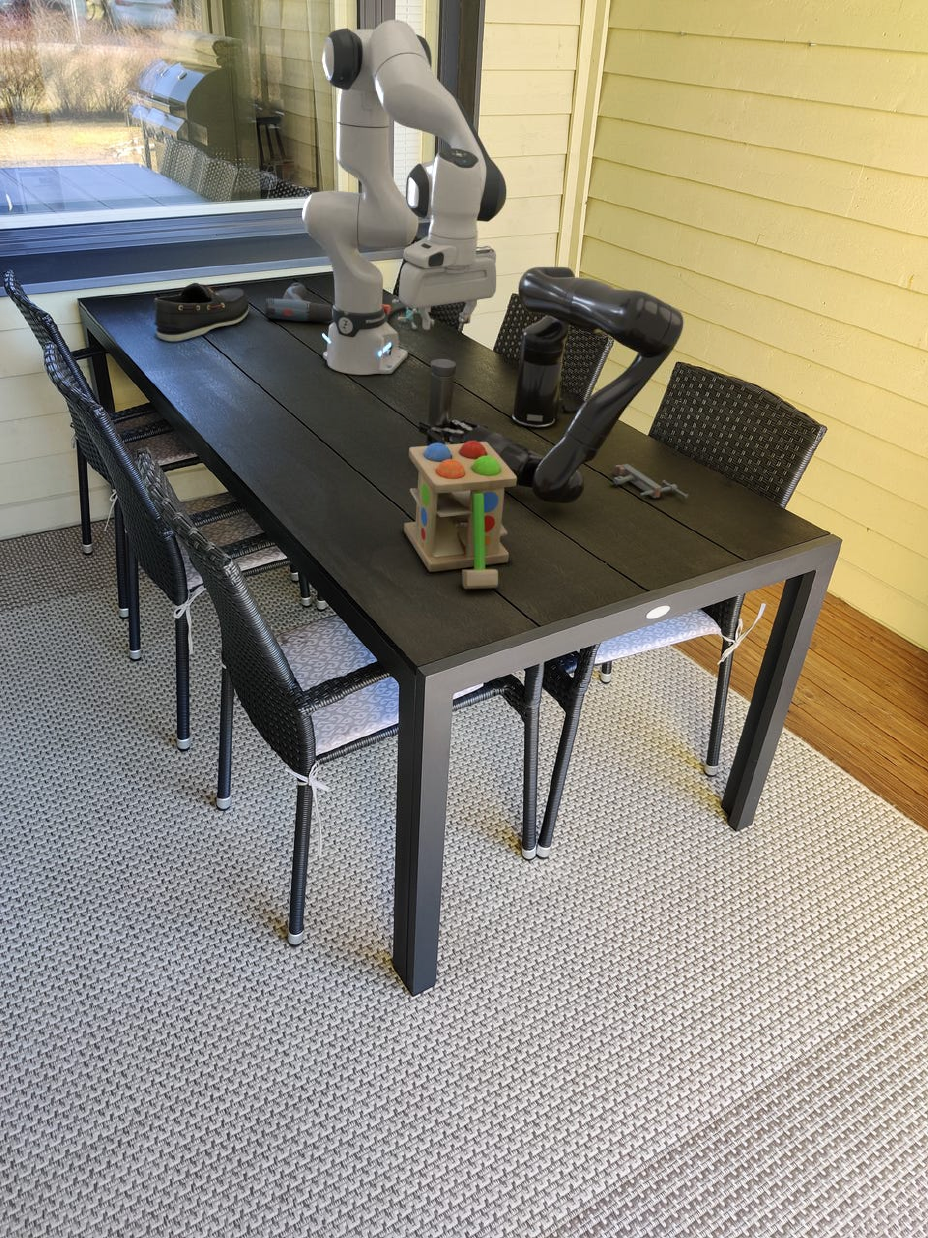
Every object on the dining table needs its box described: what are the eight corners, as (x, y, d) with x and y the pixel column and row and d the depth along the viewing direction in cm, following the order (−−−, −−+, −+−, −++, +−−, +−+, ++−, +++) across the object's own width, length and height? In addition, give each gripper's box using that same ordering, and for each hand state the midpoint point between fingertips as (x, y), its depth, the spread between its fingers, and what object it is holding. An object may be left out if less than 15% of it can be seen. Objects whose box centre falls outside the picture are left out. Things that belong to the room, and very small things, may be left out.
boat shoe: (267, 317, 262) (265, 277, 257) (175, 343, 238) (170, 300, 233) (232, 308, 268) (229, 269, 262) (138, 333, 244) (133, 291, 238)
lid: (458, 376, 188) (459, 367, 187) (434, 376, 187) (435, 367, 186) (451, 367, 192) (451, 358, 191) (427, 367, 191) (428, 359, 190)
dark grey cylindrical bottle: (450, 459, 198) (457, 369, 188) (429, 460, 197) (435, 369, 186) (443, 449, 202) (450, 361, 191) (423, 451, 200) (429, 361, 190)
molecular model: (429, 321, 258) (417, 284, 257) (398, 334, 262) (385, 297, 260) (444, 323, 268) (432, 287, 267) (414, 335, 272) (402, 300, 271)
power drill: (344, 304, 276) (335, 327, 259) (277, 298, 275) (264, 321, 258) (344, 285, 273) (335, 306, 256) (277, 279, 272) (264, 300, 255)
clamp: (603, 467, 195) (642, 459, 200) (601, 477, 197) (640, 469, 201) (650, 500, 185) (691, 491, 190) (648, 510, 186) (688, 501, 191)
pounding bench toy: (528, 589, 159) (542, 490, 149) (446, 600, 155) (455, 499, 145) (478, 522, 177) (488, 429, 167) (403, 530, 172) (408, 435, 162)
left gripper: (485, 240, 184) (479, 314, 192) (395, 250, 173) (392, 327, 181) (507, 249, 180) (499, 323, 188) (416, 259, 169) (412, 338, 177)
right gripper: (518, 425, 191) (454, 397, 200) (467, 443, 182) (404, 413, 191) (513, 460, 195) (452, 431, 204) (464, 480, 186) (402, 449, 195)
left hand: (446, 325), depth 184 cm, fingers open, 7 cm apart
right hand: (429, 423), depth 197 cm, fingers closed on dark grey cylindrical bottle, 4 cm apart
